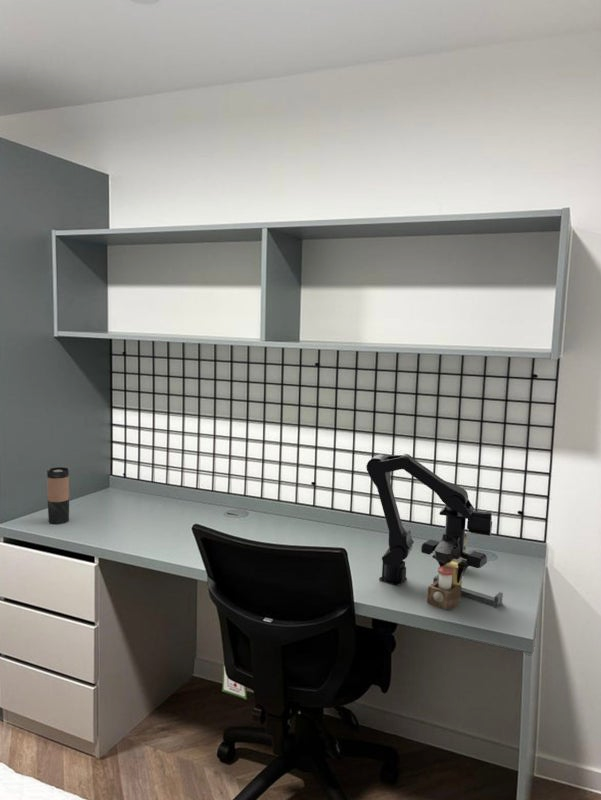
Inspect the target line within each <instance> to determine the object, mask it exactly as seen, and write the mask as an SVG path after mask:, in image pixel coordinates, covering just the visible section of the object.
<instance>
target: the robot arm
mask: <svg viewBox="0 0 601 800" xmlns="http://www.w3.org/2000/svg"><path fill="white" fill-rule="evenodd" d="M365 467H366V471H367V473H368V476H369V478H370V479H371V481H372V483H373V484H374V485H375V487H376V489H377V492H378V496H379V501H380V505H381V507H382V511H383V514H384V519H385V521H386V525H387V529H388V549H387V550H386V551H385V553H384V554H383V555H382V557H381V561H382V569H381V570H382V571H381V576H380V577H378V579H379V581H382V582H385V583H387V584H391V585H394V586H399V585H400V584H402V583H403V582H405V581H407V579H408V578H407V566H406V561H405V560H406V559H407V558H408V556H409V555H410V553H411V552H412V550H413V544H414V543H415V540H414V539H413V538H412V532H411V530H406V529H405V528H404V526H403V523H402V519H401V517H400V512H399V509H398V505H397V501H396V498H395V495H394V491H393V487H392V483H391V477H392V472H395V471H400V470H403V471H405V472H407V474H410V476H412V477H414V478H415V479H416V480H418V481H419V482H420V483H422V484H423V485H425V486H426V487H428V488H429V490H430V489H431V491H432V492H434V493H435V494H436V495H437V496H438V498H439V499H440V500H441V502H442V503H444V504H445V506H444V508H442V509H441V510H440V511H439V512H438V513H439V516H445V526H444V527H445V530H444V533H443V534H442V539H441V541H437V540H434V539H428V540H427V541H424V542H423V543H422V544H421V546H420V547H421V548H420V552H421V553H422V554H425V555H429V556H430V555H431V554H433V555H432V559H435V560H436V562H437V563H438V566H439V567H442V566H444V565H445V564H447V563H450V562H451V561H452V559H457V560H458V559H459V558H461V562H459V563H458V575H457V583H459V582H460V581H461V579H462V580H463V577H464V575H465V573H466V571H467V570H468V568H469V567H472V568H475V569H480V568H483V566H485V565H486V564H487V563H488V561H487V560H488V557H487V555H486V553H482V552H479V551H476V550H474V551H472V552H471V553H469V552H466V553H464V550H465V546H464V538H465V537H466V533H467V532H466V529H467V530H468V532H470V534H474V535H480V536H485V537H486V536H487V537H491V536H492V530H493V521H492V517H493V516H492V514H493V513H492V511H479V510H475V508H474V506H473V504H472V503H471V502H470V500H469V494H468V492H467V490H466V489H465V488H463V487H461V486H459V485H457V484H455V483H452V482H449V481H447V480H444V479H443V478H441V476H439V475H438V474H435V473H434V472H433V471H431V470H430V469H429V468H427V467H426V466H424V465H423V464H422V463H420V461H418V460H416V459H414V457H413V456H412V455H410V454H408V453H404V454H398V455H397V454H396V455H395V454H394V455H387V456H386V455H384V454H377V455H375V456H373V457H371V459H370V460H368V461H367V463H366V466H365ZM466 520H467V521H466ZM466 523H467V524H466ZM465 532H466V533H465Z"/></svg>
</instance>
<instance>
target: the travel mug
mask: <svg viewBox="0 0 601 800" xmlns="http://www.w3.org/2000/svg"><path fill="white" fill-rule="evenodd" d="M46 472H47V475H46V476H47V477H46V481H47V482H46V483H47V485H46V487H47V489H46V490H47V493H46V494H47V515H48V523H49V524H51V525H62V524H67V523H68V522H69V520H70V482H69V481H70V479H69V474H70V473H69V468H67V467H61V466H60V467H52V468H50V469H49V470H46Z"/></svg>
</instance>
